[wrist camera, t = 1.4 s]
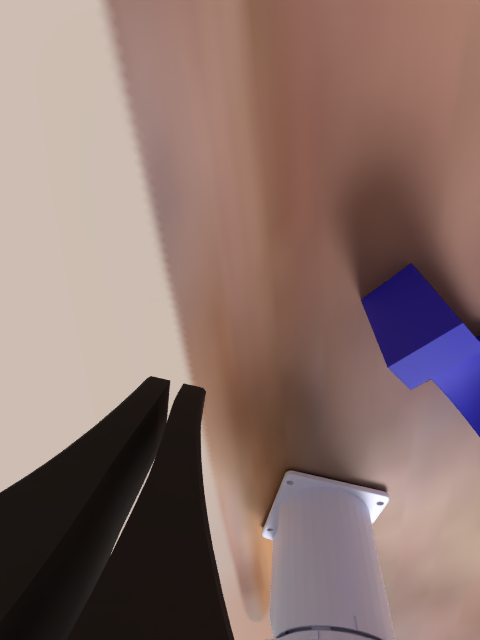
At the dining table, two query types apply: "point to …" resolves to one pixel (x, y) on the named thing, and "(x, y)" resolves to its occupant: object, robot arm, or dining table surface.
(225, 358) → the dining table surface
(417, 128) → the dining table surface
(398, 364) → the cable clip
